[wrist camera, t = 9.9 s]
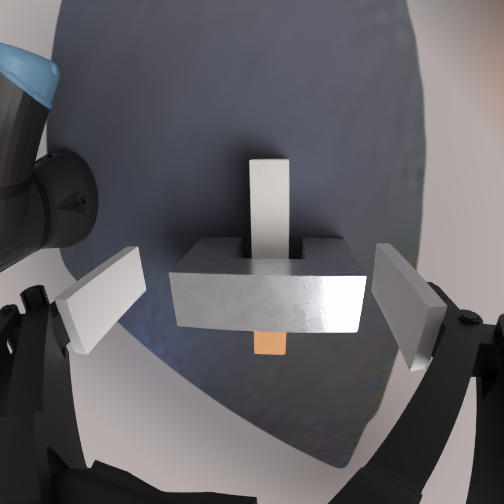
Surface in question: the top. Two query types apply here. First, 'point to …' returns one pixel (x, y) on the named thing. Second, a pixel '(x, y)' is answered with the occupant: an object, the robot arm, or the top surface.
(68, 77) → the top surface
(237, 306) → the grey arch-shaped block
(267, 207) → the white and orange bar
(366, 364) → the top surface
